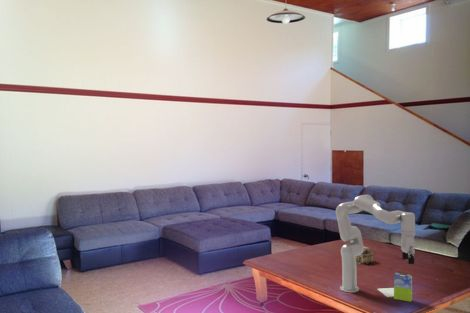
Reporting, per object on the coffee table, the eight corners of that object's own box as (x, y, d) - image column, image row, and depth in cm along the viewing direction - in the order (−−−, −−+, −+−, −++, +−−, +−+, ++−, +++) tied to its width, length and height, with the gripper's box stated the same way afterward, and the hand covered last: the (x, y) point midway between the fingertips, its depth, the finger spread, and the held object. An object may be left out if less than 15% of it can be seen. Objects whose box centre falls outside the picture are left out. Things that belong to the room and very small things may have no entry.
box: (412, 300, 251) (412, 273, 250) (411, 302, 247) (411, 275, 247) (394, 297, 256) (394, 270, 256) (393, 299, 252) (393, 272, 252)
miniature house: (349, 260, 337) (349, 247, 337) (362, 258, 343) (362, 245, 343) (362, 265, 323) (362, 251, 323) (375, 263, 329) (375, 249, 329)
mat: (377, 289, 270) (377, 288, 270) (399, 288, 271) (399, 287, 271) (387, 297, 256) (387, 296, 256) (410, 296, 257) (410, 295, 257)
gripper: (396, 230, 245) (396, 257, 245) (406, 236, 228) (407, 265, 228) (409, 230, 244) (409, 257, 245) (420, 236, 227) (420, 265, 228)
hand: (408, 261), depth 236 cm, fingers open, 9 cm apart
